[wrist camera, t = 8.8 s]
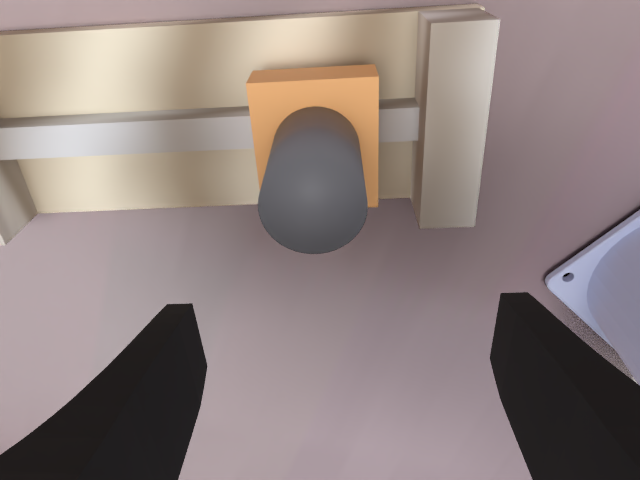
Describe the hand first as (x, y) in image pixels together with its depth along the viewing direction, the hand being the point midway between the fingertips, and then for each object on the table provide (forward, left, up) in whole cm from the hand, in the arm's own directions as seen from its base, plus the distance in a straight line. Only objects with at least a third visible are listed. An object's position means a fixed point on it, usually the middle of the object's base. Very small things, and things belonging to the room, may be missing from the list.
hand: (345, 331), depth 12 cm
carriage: (-1, -2, -9) cm, 9 cm away
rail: (+2, -5, -10) cm, 12 cm away
